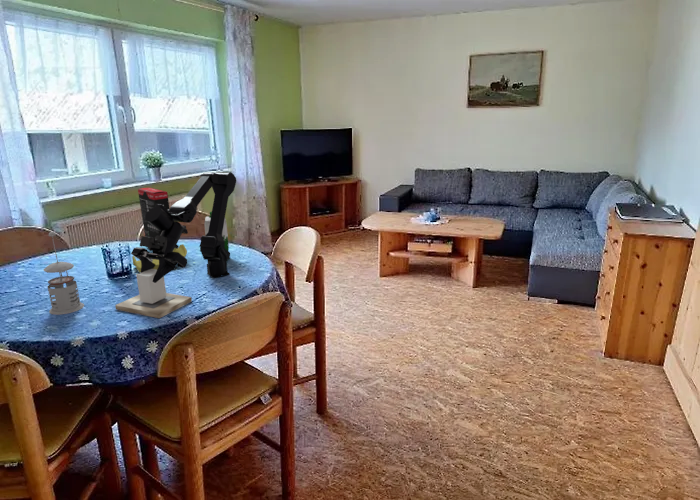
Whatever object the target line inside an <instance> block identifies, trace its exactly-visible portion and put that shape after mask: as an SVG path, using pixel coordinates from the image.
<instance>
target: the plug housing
mask: <svg viewBox="0 0 700 500" xmlns="http://www.w3.org/2000/svg"><path fill="white" fill-rule="evenodd" d="M156 271H157V270H156V269H149V270H147V271H144V272H142V273H140V272H138V273H136V274H135V275H136V281H137V288H138V295H140V302H145V303H151V304H153V303H155V302H157V301H159V300H161V299H164V298H166V297H167V295H166V293H167V290H166V283H165V276H164V277H162V278H161V279H160V280H158V281H157V282H156V283H154V282H153V278H154V276H155V273H156Z"/></svg>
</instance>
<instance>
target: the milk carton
mask: <svg viewBox="0 0 700 500" xmlns="http://www.w3.org/2000/svg"><path fill="white" fill-rule="evenodd" d="M211 214H212V211H209V216H205V217H204V218H205V219H204V233H205V234H204V236H205V235H206V234H207V233H208V231H209V225H210V219H211ZM222 236H223V239H224V241H225V249H227V250H228V251H229V246H230V245H229V235H228V225H227V219H226V218H225V220H224V226H223V231H222ZM228 260H229V259H228ZM228 260H227V262H229V261H228Z"/></svg>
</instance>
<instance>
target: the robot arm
mask: <svg viewBox="0 0 700 500" xmlns="http://www.w3.org/2000/svg"><path fill="white" fill-rule="evenodd" d="M236 185H237V177H236V176H235V173H234V174H233V173H232V172H227V171H226V172H224V171H223V172H219V171H217V172H213V171H212V172H209V171H208V172H207V171H205V172H202V173H201V175H200V178H199V179H198V180H197V181H196V183H195V184H194V185H193V186H192V187H191V188H190V190H189V191H188V193H187V194H186V195H185V196H184V197H183V198H181V199H179V200H177V201H176V202H174V203H173V204H172V205H170V206H169V208H170V209H169V210H166V209H165V207H164V206H163V205H162V204H157V205H156V206H155V207H154V208H152V209H150V210H149V211H148V212H147V213H146V215H145V219H146V220H147V221H148V222H149V223H150V224H151V225H153V226H154V227H155V228H156V229H157V230H159V231H162V233H161V235H160V236H158V235H157V236H156V237H155V238H152V237H145V235H144V236H143V235H141V237H140V242H139V247H138V246H136V247H133V249H132V250H131V253H130V254H131V255H132V256H134V257H135V259H138V261H139V260H140V261H141V273H142V272H144V271H147V270H149V269H153V268H154V267H155V266H156V265H155V264H154V263H153V262H152V261H153V259H156V260H159V267H158V269H157V271H156V273H155V276H154V278H153V282H154V283H156V282H157V281H158V280H160V279H161V278H162V277H164V278H165V277H166V276H167V275H168V274H169V273H170V272H172V271H175V270H176V269H177V267H178V268H183V269H186V267H187V265H188V259H187V258H186V256H185V257H184V256H182V255H181V254H180V253H178V252H173V250H174V248H175V249H178V247H179V246H180V245H178V242H179V240H180V238H181V236H182V234H184V235H185V234H186V235H187V234H188V233H189V231H188V229H187V225H183V224H184V223H185V224H187V223H189V224H190V223H192V221H193V220H194V219H195V217H196V215H197V212H198V210H197V209H198V205H199V204H200V203H201V201H202V200H203V199H204V198H205V196H206V195H207V194H208V192H210V190H211V188H212V191H213V194H214V197H213V204H212V209H211V212H212V214H211V219H210V225H209V231H208V233H207V234H206V235H205V234H204V235H202V236H201V238H200V242H199V246H198V247H199V252H200V253H201V256H202V257H203V260H206V261H207V263H206V270H207V271H206V272H207V274H206V275H207V276H209V277H211V278H213V279H217V278H221V277H225V276H230V272H228V270H229V269H228V261H227V260H229V259H230V258H231V252H230V251H229V250H227V249H225V241H224V239H223V236H222V231H223V226H224V220H225V219H226V212H227V209H228V208H227V207H228V201H229V197H230V196H231V195H232V193H234V190H235V187H236ZM181 223H183V224H181ZM146 248H147V249H146ZM156 256H157V257H156Z"/></svg>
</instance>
